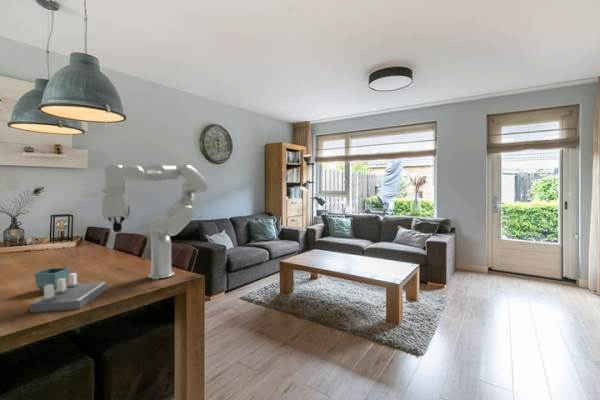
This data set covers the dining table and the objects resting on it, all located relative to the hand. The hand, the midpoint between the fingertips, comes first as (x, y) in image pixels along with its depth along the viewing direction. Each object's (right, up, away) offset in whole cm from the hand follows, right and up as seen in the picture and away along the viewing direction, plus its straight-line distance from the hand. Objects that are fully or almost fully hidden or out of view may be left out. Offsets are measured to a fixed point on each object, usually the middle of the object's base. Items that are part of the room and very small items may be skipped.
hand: (117, 231), depth 131 cm
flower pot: (-27, -26, -3) cm, 38 cm away
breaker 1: (-12, -23, -22) cm, 34 cm away
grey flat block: (-10, -27, -13) cm, 31 cm away
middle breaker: (-14, -23, -14) cm, 31 cm away
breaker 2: (-15, -23, -6) cm, 28 cm away
